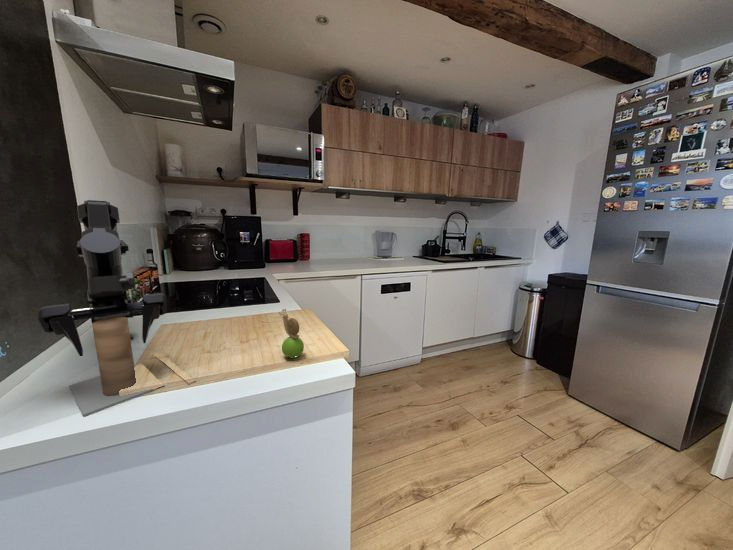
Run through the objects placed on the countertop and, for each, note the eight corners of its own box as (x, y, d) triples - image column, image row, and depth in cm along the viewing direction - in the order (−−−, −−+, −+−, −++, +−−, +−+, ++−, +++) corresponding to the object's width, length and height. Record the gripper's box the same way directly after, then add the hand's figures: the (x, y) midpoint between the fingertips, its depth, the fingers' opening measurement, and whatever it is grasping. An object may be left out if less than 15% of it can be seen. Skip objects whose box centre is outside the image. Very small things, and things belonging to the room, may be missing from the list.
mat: (68, 387, 56) (68, 385, 56) (142, 364, 66) (142, 363, 66) (83, 416, 48) (83, 414, 48) (165, 386, 58) (164, 384, 58)
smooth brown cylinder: (111, 383, 58) (102, 317, 55) (140, 379, 59) (132, 316, 56) (96, 397, 53) (85, 326, 50) (129, 393, 54) (119, 324, 52)
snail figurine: (293, 349, 76) (292, 306, 74) (308, 356, 72) (308, 311, 70) (275, 356, 72) (274, 311, 70) (290, 364, 68) (289, 316, 66)
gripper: (30, 262, 49) (29, 343, 43) (161, 257, 62) (174, 318, 56) (45, 296, 56) (46, 369, 50) (159, 285, 69) (171, 342, 63)
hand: (114, 348), depth 55 cm, fingers open, 9 cm apart
